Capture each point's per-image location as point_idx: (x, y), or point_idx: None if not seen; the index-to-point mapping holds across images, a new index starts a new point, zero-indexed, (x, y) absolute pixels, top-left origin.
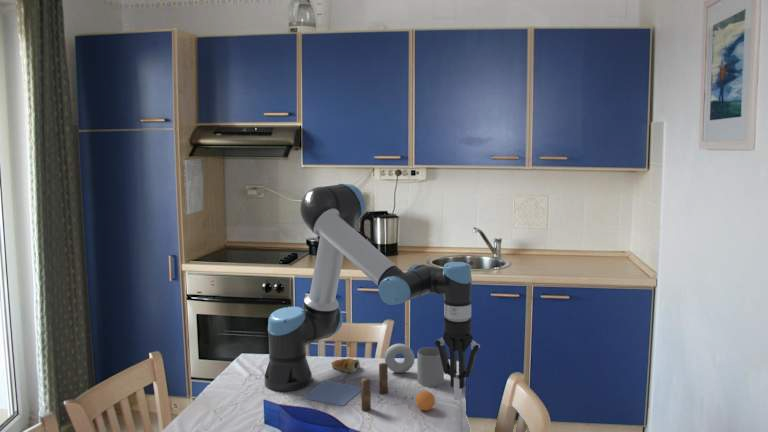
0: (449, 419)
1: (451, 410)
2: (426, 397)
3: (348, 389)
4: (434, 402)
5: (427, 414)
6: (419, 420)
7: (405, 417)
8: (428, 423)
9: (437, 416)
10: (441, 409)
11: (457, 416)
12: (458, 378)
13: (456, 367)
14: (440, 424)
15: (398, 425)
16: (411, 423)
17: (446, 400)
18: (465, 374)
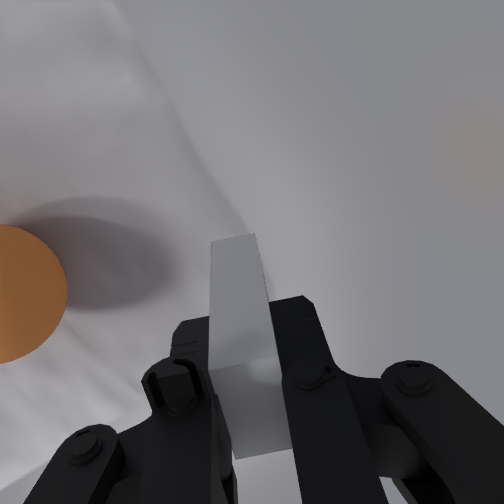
0: None
1: (158, 172)
2: (17, 351)
3: None
4: (57, 268)
5: (74, 301)
6: (89, 376)
7: (6, 391)
8: None
9: (138, 289)
10: (95, 198)
11: (237, 223)
12: (291, 447)
13: (213, 471)
14: None
15: (46, 461)
16: (80, 418)
17: (21, 39)
18: (397, 480)
